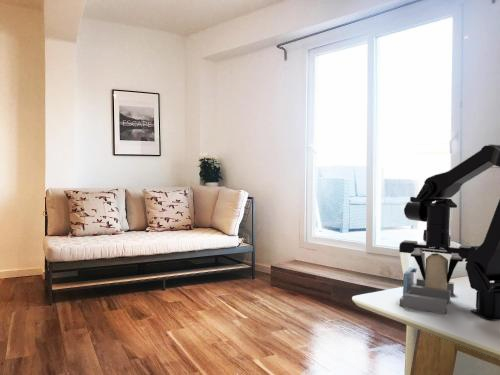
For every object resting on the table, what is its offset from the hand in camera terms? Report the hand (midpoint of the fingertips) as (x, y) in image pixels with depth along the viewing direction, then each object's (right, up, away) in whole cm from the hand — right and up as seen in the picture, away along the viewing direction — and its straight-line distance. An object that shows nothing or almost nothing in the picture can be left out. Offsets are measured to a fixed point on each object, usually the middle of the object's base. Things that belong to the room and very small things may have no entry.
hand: (436, 281), depth 116 cm
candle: (0, -3, 0) cm, 3 cm away
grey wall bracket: (-4, -4, -3) cm, 7 cm away
